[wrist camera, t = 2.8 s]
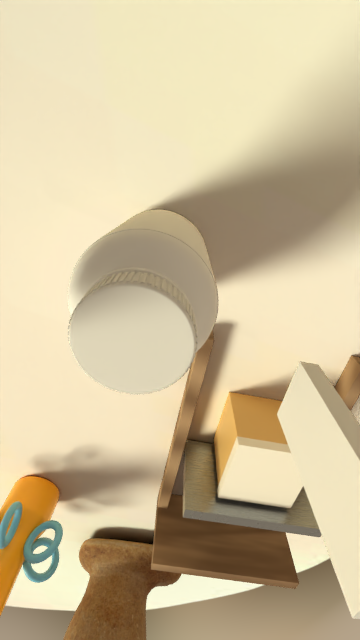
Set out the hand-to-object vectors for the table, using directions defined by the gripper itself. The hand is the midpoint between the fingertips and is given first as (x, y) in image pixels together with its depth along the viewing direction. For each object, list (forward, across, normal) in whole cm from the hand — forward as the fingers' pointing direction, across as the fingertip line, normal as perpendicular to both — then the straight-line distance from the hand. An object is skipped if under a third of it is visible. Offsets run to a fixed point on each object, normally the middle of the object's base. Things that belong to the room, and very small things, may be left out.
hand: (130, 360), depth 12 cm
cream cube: (+16, +13, -16) cm, 26 cm away
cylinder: (+16, -11, -34) cm, 39 cm away
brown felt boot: (+16, +3, -46) cm, 48 cm away
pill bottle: (+16, 0, 0) cm, 16 cm away
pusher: (+15, +13, -21) cm, 29 cm away
